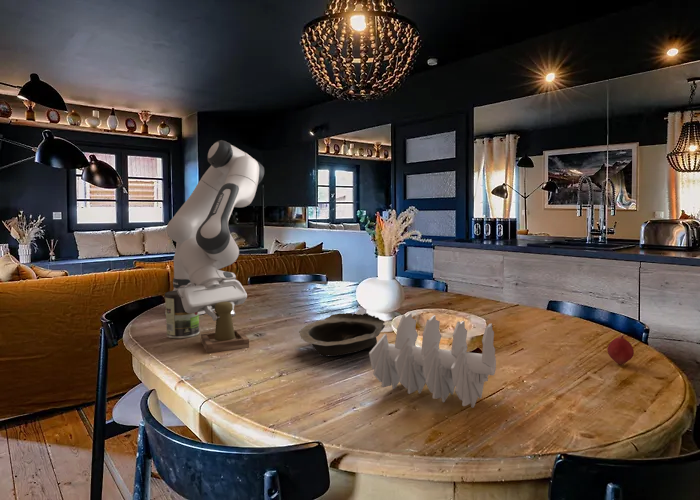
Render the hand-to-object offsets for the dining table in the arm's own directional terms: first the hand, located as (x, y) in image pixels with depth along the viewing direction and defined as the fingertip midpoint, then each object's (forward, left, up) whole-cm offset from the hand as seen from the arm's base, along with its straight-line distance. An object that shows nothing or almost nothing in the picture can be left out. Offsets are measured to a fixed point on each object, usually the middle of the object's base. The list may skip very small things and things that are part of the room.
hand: (225, 317), depth 134 cm
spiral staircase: (+59, +34, -9) cm, 68 cm away
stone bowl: (+21, +29, -9) cm, 37 cm away
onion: (+65, +89, -9) cm, 110 cm away
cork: (0, 0, -6) cm, 6 cm away
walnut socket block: (0, 0, -8) cm, 8 cm away
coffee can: (-18, -10, -9) cm, 23 cm away
